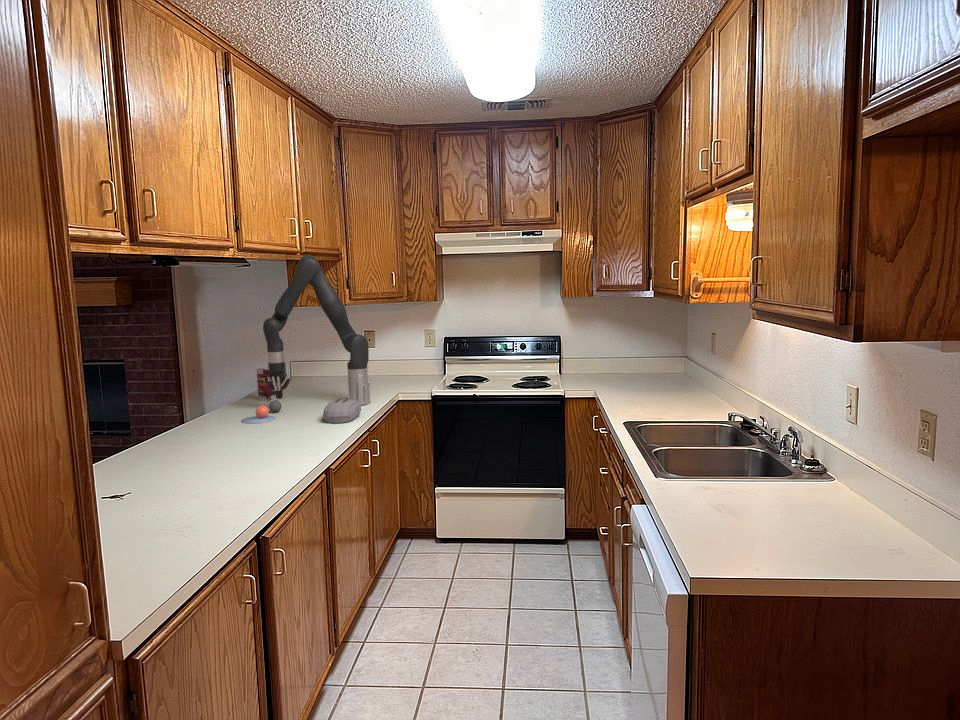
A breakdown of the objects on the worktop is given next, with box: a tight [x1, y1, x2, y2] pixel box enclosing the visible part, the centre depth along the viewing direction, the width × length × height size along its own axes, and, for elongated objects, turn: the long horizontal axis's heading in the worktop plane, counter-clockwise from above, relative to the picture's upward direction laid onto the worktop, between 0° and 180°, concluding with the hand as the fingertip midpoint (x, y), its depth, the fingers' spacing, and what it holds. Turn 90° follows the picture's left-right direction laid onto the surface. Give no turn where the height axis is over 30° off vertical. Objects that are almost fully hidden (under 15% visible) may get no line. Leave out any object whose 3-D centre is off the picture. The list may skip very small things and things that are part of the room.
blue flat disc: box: [240, 415, 276, 425], centre depth 279 cm, size 14×14×1 cm
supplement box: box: [256, 367, 278, 403], centre depth 322 cm, size 9×5×16 cm, turn 62°
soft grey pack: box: [322, 397, 362, 424], centre depth 276 cm, size 15×8×20 cm
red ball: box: [255, 405, 270, 418], centre depth 281 cm, size 6×6×6 cm
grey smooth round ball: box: [268, 399, 282, 413], centre depth 293 cm, size 6×6×6 cm
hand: (279, 398), depth 297 cm, fingers closed
